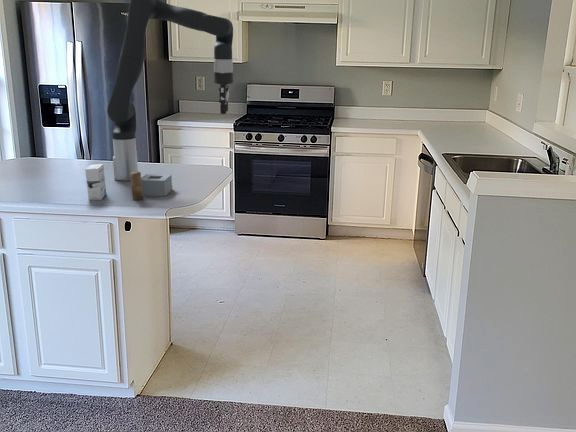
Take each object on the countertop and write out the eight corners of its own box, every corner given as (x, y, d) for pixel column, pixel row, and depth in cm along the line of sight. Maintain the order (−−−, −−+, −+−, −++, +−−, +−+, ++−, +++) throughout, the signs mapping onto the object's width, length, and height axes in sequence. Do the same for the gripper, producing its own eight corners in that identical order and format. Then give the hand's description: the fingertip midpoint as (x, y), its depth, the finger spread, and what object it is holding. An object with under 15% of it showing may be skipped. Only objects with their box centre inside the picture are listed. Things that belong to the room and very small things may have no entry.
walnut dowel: (131, 200, 207) (129, 173, 204) (134, 197, 211) (132, 171, 208) (140, 200, 207) (138, 173, 204) (143, 198, 210) (141, 171, 207)
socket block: (139, 195, 214) (138, 180, 212) (147, 188, 223) (146, 174, 221) (165, 196, 213) (164, 180, 211) (172, 189, 222) (171, 174, 221)
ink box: (93, 194, 216) (90, 163, 212) (106, 193, 216) (103, 163, 212) (87, 200, 207) (84, 168, 204) (101, 199, 208) (98, 168, 204)
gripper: (215, 70, 229) (216, 110, 234) (212, 72, 216) (213, 114, 221) (234, 70, 230) (234, 110, 234) (231, 72, 216) (232, 114, 221)
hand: (224, 112), depth 228 cm, fingers open, 8 cm apart
